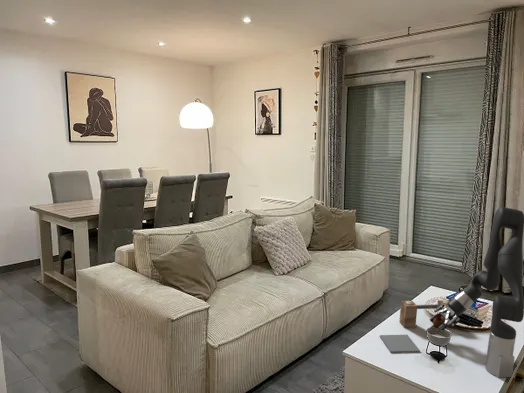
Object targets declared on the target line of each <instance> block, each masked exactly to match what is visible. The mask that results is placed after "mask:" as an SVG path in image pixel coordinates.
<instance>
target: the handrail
mask: <svg viewBox="0 0 524 393" xmlns="http://www.w3.org/2000/svg"><path fill="white" fill-rule="evenodd" d="M449 301H450V300H446V299H444V300H438V299H437V304H416V303H415V302H414V301H413V300H401V301H400V309H399V321H398V322H399V324H400V325H401V326H402V327H403V328H404V329H408V328H409V329H411V328H412V329H413V328H416V326H417V324H416V323H417V317H418V316H417V315H418V310H425V309H427V310H429V309H431V310H435V309H436V308H438V307H439V306H440V305H441V304H444V305H445V306H448V302H449ZM438 311H439V310H438ZM438 311H437V312H438ZM441 319H443V321H444V324H445V317H441ZM452 324H453V323H451V325H452Z"/></svg>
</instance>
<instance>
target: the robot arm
mask: <svg viewBox="0 0 524 393" xmlns="http://www.w3.org/2000/svg"><path fill="white" fill-rule="evenodd" d="M502 228H504V229H507V230H511V236H510V238H509V240H508V241H507V242H506V243H505V244H504V245H503V243H502V240H501V239H502V238H501V230H502ZM523 238H524V211H522V210H518V209H514V208H509V207H506V206H505V207H504V206H500V207H498V208H497V209H496V211H495V213H494V216H493V220H492V225H491V231H490V238H489V244H488V247H487V251H486V254H485V256H484V260H483V267H484V268H485V269H486V270H483V269H482V270H479V271H477V272H476V273H475V274H474V276H473V277H472V279H471V280H470V281H469V283H468V285H466V287H464V289H462V290H461V291H460V292H458V293H457V294H456V295H455V296H453V297H452V299H450V300H449V302H448V306H445V305H444V304H441V305H440V306H439V307H438V308H436V309H433V312H434V314H433V315H432V316H431V317H430V318H429V321H430V323H432V324H433V319H434V318H436V316H437V311H438V310H439V311H438V313H439V314H440V315H441V317H445V324H444V323H443V324H442V325H441V326H440V327H438V329H441V330H445V331H446V329H447V328H450V329H453V328H454V327H455V326H456V325H457V324H458V323H460V322H461V319H460V318H459V316H461V315H462V314H463V313H465V312H466V311H467V310H468V309H469V308H471V307H472V305H473V304H474V303H476V301H478V300H479V298H481V297H482V291H481V290H480V289H481V287H483V288H484V289H486V290H488V291H494V290H496V289H497V288H498V287H499V285H500V280H501V276H502V277H503V279H504V281H505V282H506V283H507V284H508V286H509V288H510V289H509V290H510V291H511V293H512V297H507V296H501V295H495V296H494V298H493V301H492V308H491V310H492V311H491V320H490V321H491V322H490V329H489V334H488V335H489V336H488V344H487V350H486V358H485V359H486V360H485V369H486V371H487V372H488V373H490V375H493V376H495V377H497V378H512V377H513V370H514V364H515V356H514V350H515V343H516V337H517V330H516V329H515V328H514V327H513V326H511V324H510V325H509V324H508V323H506V322H504V321H510V322H515V323H521V322H522V321H523V320H524V291H523V270H524V269H523V267H524V266H523V265H524V258H523V257H524V255H523V242H524V241H523V240H524V239H523ZM503 320H504V321H503ZM451 323H453V324H452V325H451Z"/></svg>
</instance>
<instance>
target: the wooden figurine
mask: <svg viewBox="0 0 524 393" xmlns="http://www.w3.org/2000/svg"><path fill="white" fill-rule="evenodd" d="M443 323H444V321H443V319H441V315H440V314H439V313H438V312H437V316H436V318H434V319H433V323H432V325H431V326H430V327H429V329H430V328H438V327H440V326H441V325H442V324H443Z"/></svg>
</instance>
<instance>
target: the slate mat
mask: <svg viewBox="0 0 524 393" xmlns="http://www.w3.org/2000/svg"><path fill="white" fill-rule="evenodd" d="M379 338H380V339H381V341H382V342H383V344H384V346H385V347H386V348H387V350H388V351H389V353H390V354H401V353H405V354H406V353H421V350H420V348H419V347H418V346H417V345H416V343H415V342H414V341H413V340H412V339H411V337H410V336H409V335H408V334H379Z"/></svg>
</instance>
